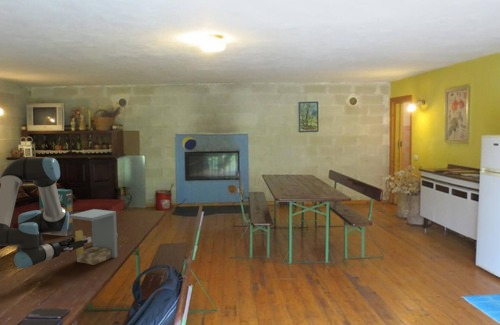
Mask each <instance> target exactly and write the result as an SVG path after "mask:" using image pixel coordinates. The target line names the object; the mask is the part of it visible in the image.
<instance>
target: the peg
mask: <svg viewBox="0 0 500 325" xmlns="http://www.w3.org/2000/svg"><path fill="white" fill-rule="evenodd" d="M74 234H75V238H76V242H77V241H80V240H81V239H83V236H84V230H83V229H78V230H74ZM84 247H85V246H83V247H80V248H78V249H75V254H76V256H77V255H81V254H84V250H85V248H84Z"/></svg>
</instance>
